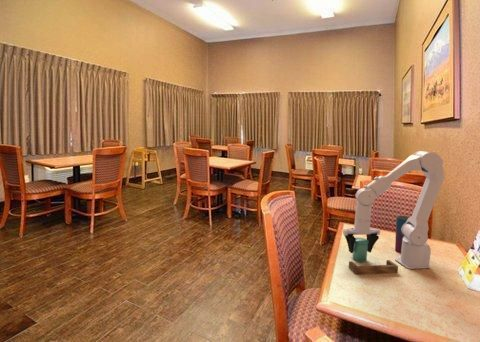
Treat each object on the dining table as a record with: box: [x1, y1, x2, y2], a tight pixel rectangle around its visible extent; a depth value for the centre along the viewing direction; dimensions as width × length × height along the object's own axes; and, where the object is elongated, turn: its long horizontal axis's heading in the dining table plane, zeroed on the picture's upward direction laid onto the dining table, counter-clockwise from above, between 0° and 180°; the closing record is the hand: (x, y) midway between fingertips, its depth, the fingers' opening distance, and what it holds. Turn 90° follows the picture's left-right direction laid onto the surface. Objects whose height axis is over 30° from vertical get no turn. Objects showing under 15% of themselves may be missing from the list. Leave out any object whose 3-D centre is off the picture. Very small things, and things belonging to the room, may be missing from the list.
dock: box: [348, 259, 399, 275], centre depth 109 cm, size 16×5×2 cm, turn 98°
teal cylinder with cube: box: [352, 237, 369, 263], centre depth 119 cm, size 6×8×8 cm
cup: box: [394, 214, 410, 254], centre depth 126 cm, size 7×7×15 cm
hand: (359, 251), depth 118 cm, fingers open, 7 cm apart
